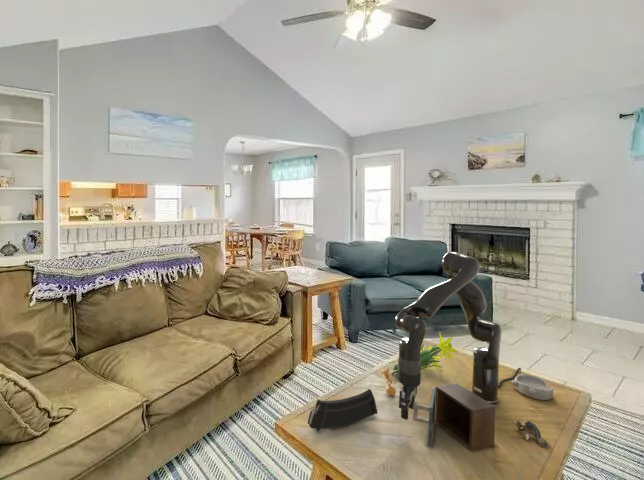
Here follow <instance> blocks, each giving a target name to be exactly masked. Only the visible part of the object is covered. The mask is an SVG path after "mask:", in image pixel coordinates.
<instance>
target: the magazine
mask: <svg viewBox="0 0 644 480" xmlns="http://www.w3.org/2000/svg"><path fill="white" fill-rule="evenodd" d="M378 412H379V411H378V408H377V403H376V398H375V396H374V394H373V391H372V390H371V388H368V389H367V390H365V391H364V392H361V393H359V394H356V395H353V396H349V397H346V398H341V399H334V400H321V399H317V400H316V402H315V404H314V405H313V407H312V409H311V410H310V412H309V414H308V419H307V425H309V427H310V428H311V429H315V430H316V431H317V432H320V431H321V430H324V429H326V430H327V429H336V428H342V427H347V426H350V425H353V424H355V423H358V422H361V421H363V420H365V419H368V418H369V417H372V416H374V415H378V414H379V413H378Z"/></svg>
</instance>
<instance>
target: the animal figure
mask: <svg viewBox="0 0 644 480" xmlns="http://www.w3.org/2000/svg"><path fill="white" fill-rule="evenodd" d="M522 420H523V422H524V424H522V422H521V421H520V420H516V421H515V422H514V421H511V422H512V425H514V426H515V427H516V428H517V429H518V432H519V433H521V432H524V435H525V441H528V440H529V438H530V436H532V437H533V438H535V440H536V441H537V442H538V444H539V445H540V446H541V447H543V448H548V446H549V445H548V442H547V441H546V440H545V439H544V437H543V436H542V435H541V431H540V430H539V427H538V426H537V425H536V424H535V423H533V422H531V421H529V420H528V421H526V419H525V418H522Z"/></svg>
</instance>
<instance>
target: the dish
mask: <svg viewBox="0 0 644 480" xmlns="http://www.w3.org/2000/svg"><path fill="white" fill-rule="evenodd" d="M510 382H511V385H512V386H513V387H514V388H515V389H516V391H518V392H519V393H521V394H523V395H525V396H527V397H529V398H532V399H535V400H541V401H548V400H550V399H552V397H553V396H554V387H551V388H549V386H548V384H547V382H546V381H545V379H544V378H541V377H539V376H535V375H531V374H525V373H523V374H518V375H516V377H515V378H514V380H513V379H511V381H510Z"/></svg>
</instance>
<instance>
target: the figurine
mask: <svg viewBox="0 0 644 480" xmlns="http://www.w3.org/2000/svg"><path fill="white" fill-rule="evenodd" d="M380 372H381V376H384V378H385V379H386V380H387V381H386V384H387V386H386V388H385V393H386V394H387V395H388V396H390V397H394V396H395V395H396V393H397V389H396V388H395V386H393V385H392V384H393V383H394V385H396V384H397V383H396V381H394V379H393V377H392V376H391V374H390V368H386V369H381V370H380Z"/></svg>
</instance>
